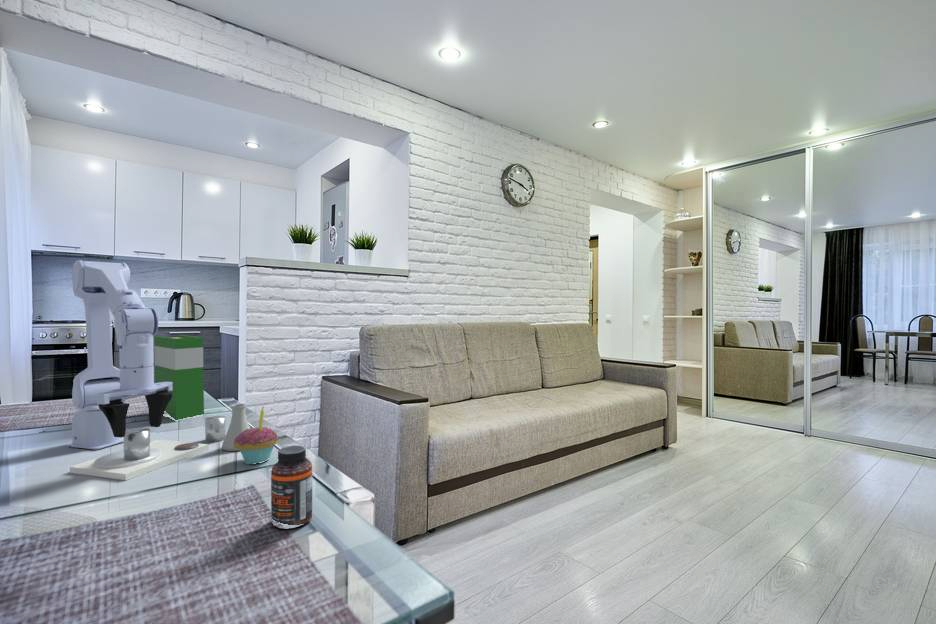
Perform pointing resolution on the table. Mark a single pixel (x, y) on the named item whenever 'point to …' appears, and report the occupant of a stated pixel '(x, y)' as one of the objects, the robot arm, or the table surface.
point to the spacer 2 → (215, 429)
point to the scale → (125, 470)
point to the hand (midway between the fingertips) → (137, 431)
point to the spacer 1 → (137, 444)
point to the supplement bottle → (291, 487)
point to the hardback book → (181, 373)
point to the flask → (235, 426)
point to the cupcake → (256, 443)
